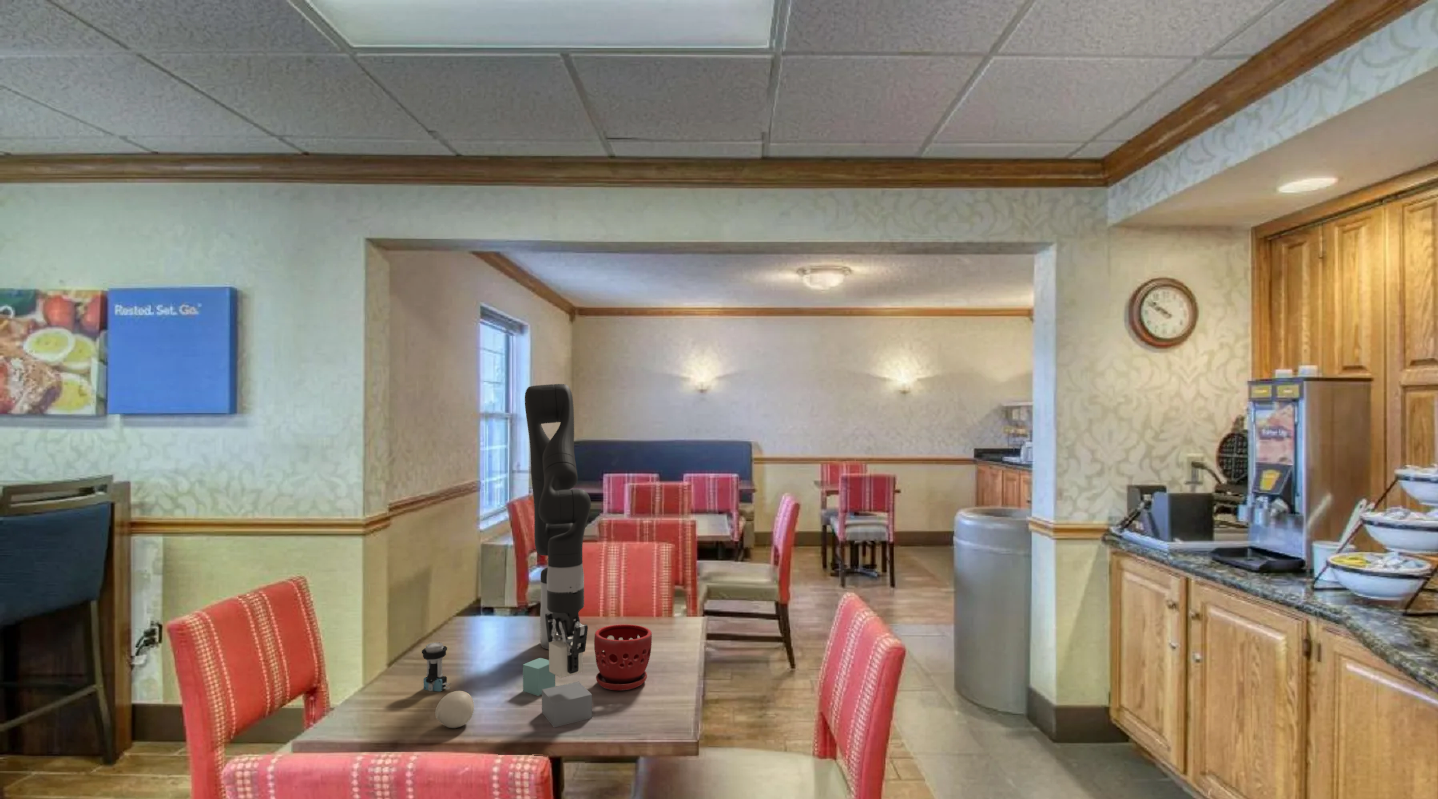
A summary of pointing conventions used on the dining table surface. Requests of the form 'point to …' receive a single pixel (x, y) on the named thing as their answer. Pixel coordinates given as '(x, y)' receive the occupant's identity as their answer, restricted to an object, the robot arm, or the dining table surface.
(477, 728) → the dining table surface
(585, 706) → the slate base block
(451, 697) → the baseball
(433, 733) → the dining table surface
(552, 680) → the teal block
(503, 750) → the dining table surface
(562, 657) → the cream block
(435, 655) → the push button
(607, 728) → the dining table surface
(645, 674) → the plant pot
